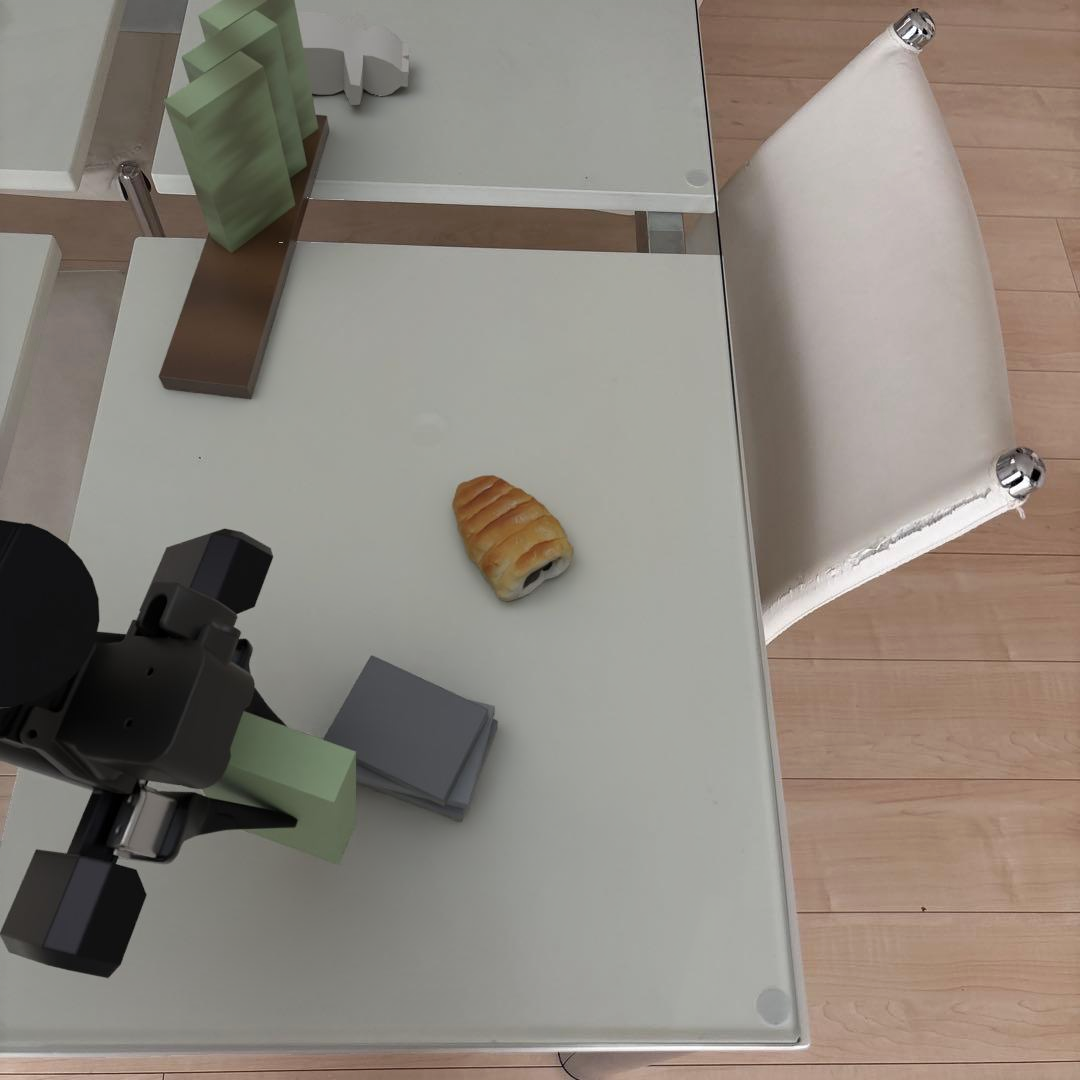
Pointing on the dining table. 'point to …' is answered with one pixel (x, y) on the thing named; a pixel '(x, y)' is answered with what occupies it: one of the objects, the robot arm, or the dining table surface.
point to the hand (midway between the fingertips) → (302, 792)
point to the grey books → (414, 738)
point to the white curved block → (352, 56)
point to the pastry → (509, 536)
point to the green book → (293, 785)
